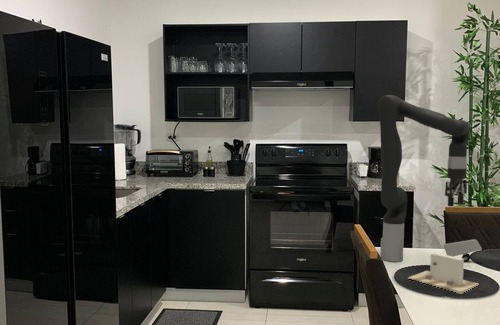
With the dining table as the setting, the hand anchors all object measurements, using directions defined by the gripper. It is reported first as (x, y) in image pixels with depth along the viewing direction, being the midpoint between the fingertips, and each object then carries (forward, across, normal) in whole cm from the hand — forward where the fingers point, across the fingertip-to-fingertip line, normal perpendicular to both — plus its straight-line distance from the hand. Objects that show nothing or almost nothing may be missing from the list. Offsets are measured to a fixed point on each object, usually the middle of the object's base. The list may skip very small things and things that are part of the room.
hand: (455, 205), depth 213 cm
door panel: (+27, +20, +7) cm, 34 cm away
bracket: (+26, -14, -10) cm, 31 cm away
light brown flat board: (+28, +20, +6) cm, 35 cm away
